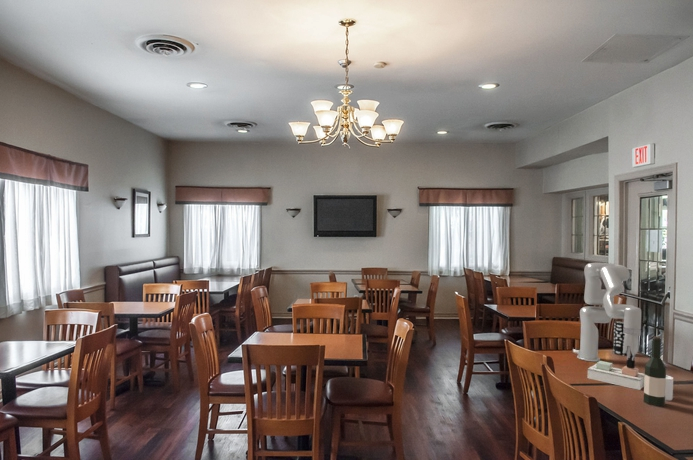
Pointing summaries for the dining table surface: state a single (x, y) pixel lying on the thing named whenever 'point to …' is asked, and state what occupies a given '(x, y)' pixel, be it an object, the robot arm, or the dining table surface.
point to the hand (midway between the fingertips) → (630, 367)
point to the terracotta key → (630, 371)
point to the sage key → (604, 365)
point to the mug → (669, 388)
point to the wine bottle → (655, 376)
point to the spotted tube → (618, 338)
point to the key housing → (616, 377)
